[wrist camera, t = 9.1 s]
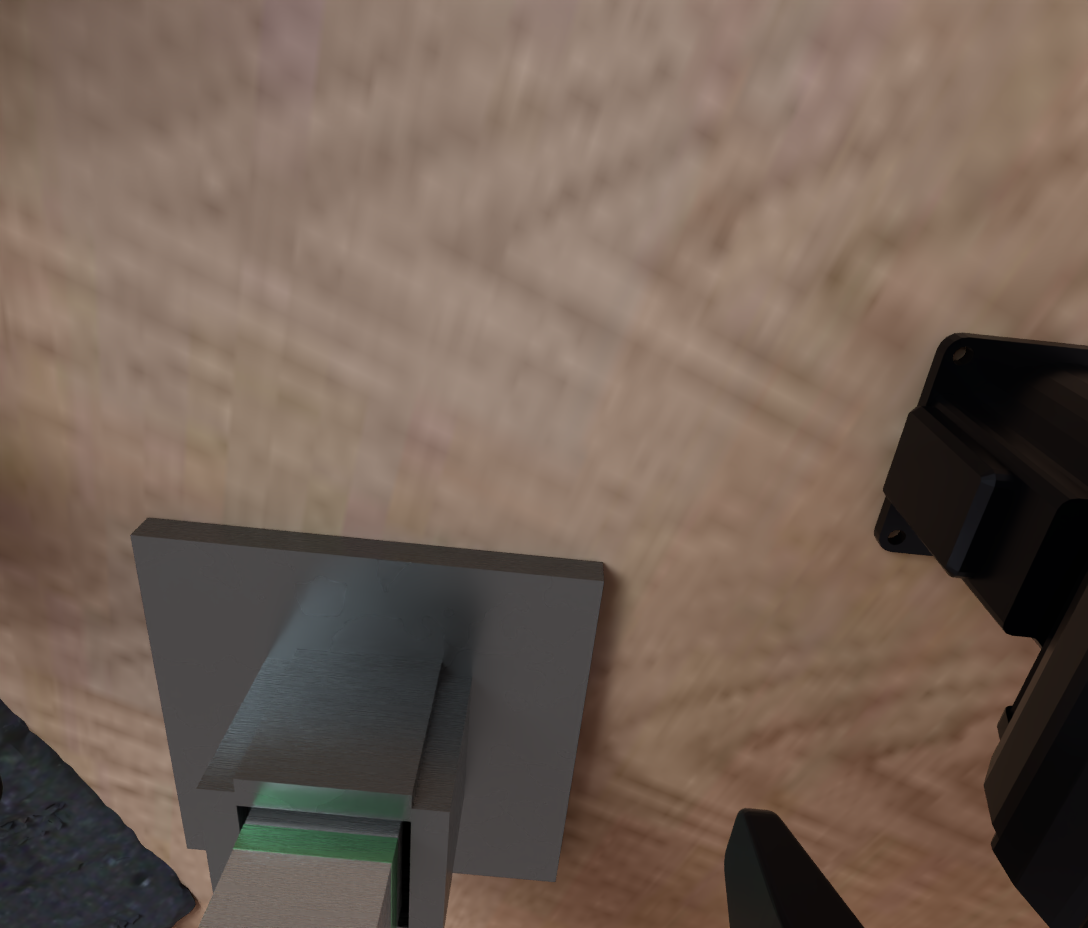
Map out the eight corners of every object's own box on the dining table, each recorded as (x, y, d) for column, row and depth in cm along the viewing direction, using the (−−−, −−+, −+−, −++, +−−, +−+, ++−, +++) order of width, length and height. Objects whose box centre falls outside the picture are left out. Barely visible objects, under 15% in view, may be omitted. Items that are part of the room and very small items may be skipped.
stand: (602, 562, 23) (613, 705, 17) (555, 858, 29) (552, 1030, 24) (147, 517, 23) (16, 648, 17) (199, 825, 29) (114, 991, 23)
